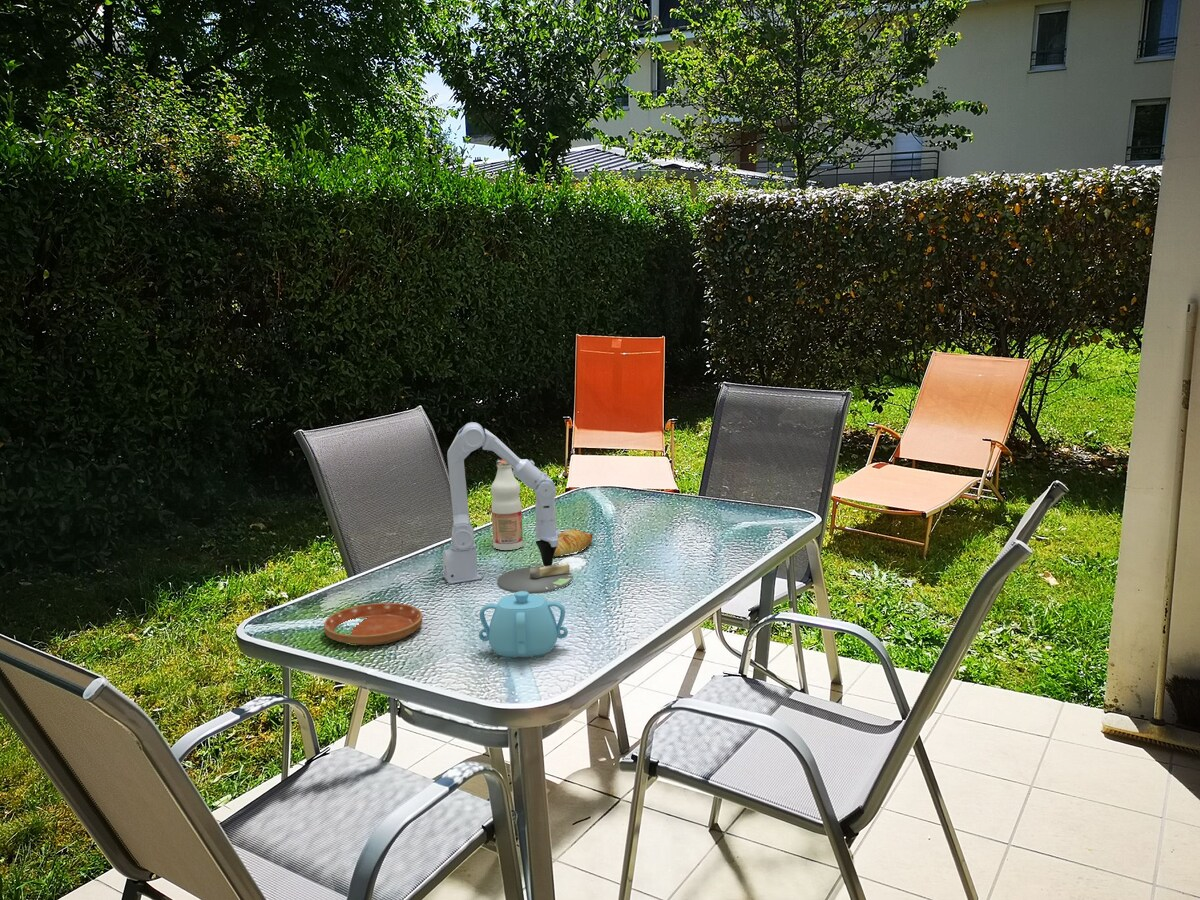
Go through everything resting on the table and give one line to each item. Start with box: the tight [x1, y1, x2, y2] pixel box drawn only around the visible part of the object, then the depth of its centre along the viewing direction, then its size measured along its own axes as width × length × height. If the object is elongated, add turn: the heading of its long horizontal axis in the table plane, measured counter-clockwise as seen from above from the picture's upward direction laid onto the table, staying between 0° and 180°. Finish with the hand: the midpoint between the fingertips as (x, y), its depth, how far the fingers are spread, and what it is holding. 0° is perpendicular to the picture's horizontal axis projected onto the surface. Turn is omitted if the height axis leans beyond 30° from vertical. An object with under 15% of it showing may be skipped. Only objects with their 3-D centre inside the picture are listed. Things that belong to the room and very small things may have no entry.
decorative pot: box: [478, 591, 569, 660], centre depth 203 cm, size 16×16×14 cm
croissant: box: [554, 528, 594, 557], centre depth 281 cm, size 21×10×8 cm, turn 144°
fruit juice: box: [490, 459, 524, 550], centre depth 284 cm, size 9×9×28 cm
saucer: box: [323, 602, 423, 646], centre depth 217 cm, size 23×23×4 cm
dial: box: [496, 566, 574, 594], centre depth 252 cm, size 21×21×1 cm
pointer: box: [530, 563, 571, 578], centre depth 254 cm, size 11×3×2 cm, turn 112°
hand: (547, 565), depth 260 cm, fingers closed
